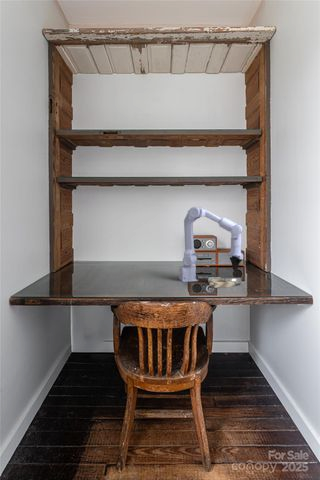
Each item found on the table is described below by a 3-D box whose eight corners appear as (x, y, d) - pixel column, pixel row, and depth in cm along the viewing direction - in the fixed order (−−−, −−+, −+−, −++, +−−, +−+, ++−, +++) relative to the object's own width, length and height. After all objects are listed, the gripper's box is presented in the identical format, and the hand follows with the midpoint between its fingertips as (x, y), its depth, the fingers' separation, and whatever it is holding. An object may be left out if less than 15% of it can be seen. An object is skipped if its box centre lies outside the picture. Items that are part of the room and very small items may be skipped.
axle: (227, 286, 174) (227, 279, 174) (223, 284, 178) (224, 277, 178) (241, 285, 176) (241, 278, 176) (238, 283, 180) (238, 276, 180)
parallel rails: (214, 287, 170) (214, 283, 170) (209, 284, 177) (209, 280, 177) (234, 286, 173) (234, 281, 173) (228, 283, 180) (228, 279, 180)
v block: (211, 283, 179) (211, 279, 179) (207, 281, 183) (208, 277, 183) (224, 282, 181) (224, 278, 181) (220, 281, 186) (220, 276, 185)
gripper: (248, 247, 169) (247, 272, 170) (236, 244, 183) (235, 267, 184) (236, 247, 167) (235, 272, 169) (225, 244, 181) (224, 267, 183)
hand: (235, 269), depth 176 cm, fingers closed
